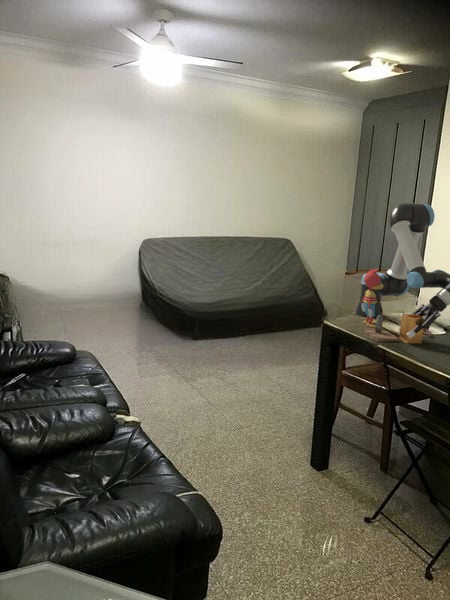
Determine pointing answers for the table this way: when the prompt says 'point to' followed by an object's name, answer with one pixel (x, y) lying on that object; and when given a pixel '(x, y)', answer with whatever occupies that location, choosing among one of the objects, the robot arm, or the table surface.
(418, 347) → the table surface
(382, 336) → the post
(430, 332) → the pink handled mallet
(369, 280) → the toy
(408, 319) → the frame
